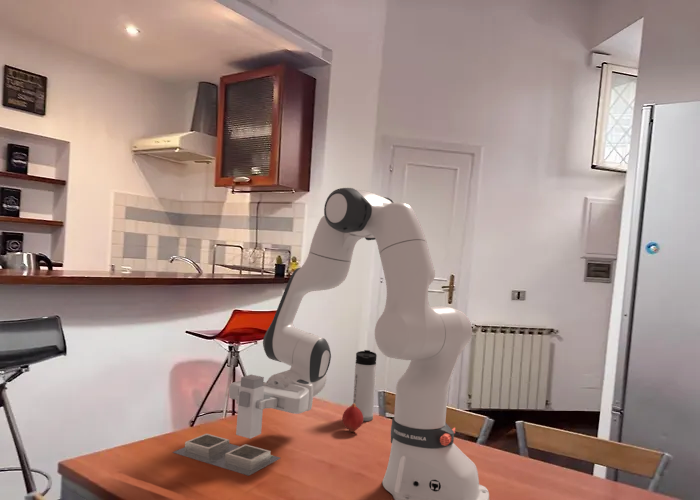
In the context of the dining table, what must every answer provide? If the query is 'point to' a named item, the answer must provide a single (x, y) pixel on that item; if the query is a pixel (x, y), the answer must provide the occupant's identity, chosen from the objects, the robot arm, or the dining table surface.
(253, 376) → the plug
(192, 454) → the panel
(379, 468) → the dining table surface
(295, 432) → the dining table surface
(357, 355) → the travel mug
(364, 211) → the robot arm
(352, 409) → the onion
